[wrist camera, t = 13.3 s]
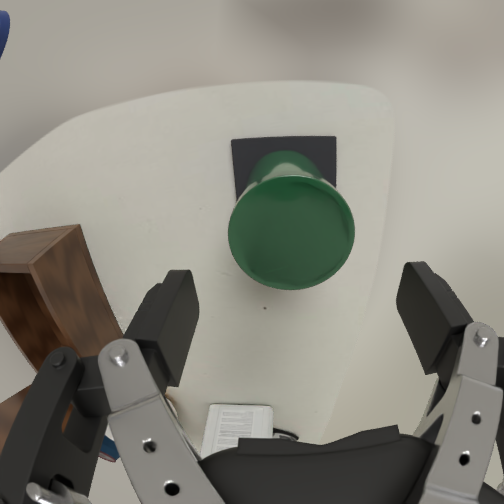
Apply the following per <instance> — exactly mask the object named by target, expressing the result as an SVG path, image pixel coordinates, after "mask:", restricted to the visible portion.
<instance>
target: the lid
mask: <svg viewBox="0 0 504 504" xmlns="http://www.w3.org/2000/svg"><path fill="white" fill-rule="evenodd" d="M30 386H31V385H29V386H28V387H26V388H24V389H23V390H21V391H19V392H18V393H16V394H15V395H13V396H11V397H10V398H8V399H7V400H5V401H4V402H2V403H0V455H1V452H2V449H3V447H4V444H5V441H6V439H7V436H8V434H9V431H10V429H11V427H12V424H13V422H14V420H15V418H16V415H17V413H18V411H19V409H20V407H21V405H22V402H23V400H24V398H25V396H26V394H27V392H28V390H29V388H30ZM72 409H73V405H72V404H71V403H70V405H69V408H68V410H67V413H66V415H65V418H64V420H63V423H62V433H63V432H64V429H65V427H66V424H67V421H68V419H69V416H70V414H71V411H72Z"/></svg>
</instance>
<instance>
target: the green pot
mask: <svg viewBox="0 0 504 504" xmlns="http://www.w3.org/2000/svg"><path fill="white" fill-rule="evenodd" d="M354 237H355V226H354V219H353V216H352V213H351V210H350V208H349V206H348V204H347V203H346V201H345V200H344V198H343V197H342V195H341V194H340V193H339V192H338V190H337V189H336V188H335V187H334V186H332V185H331V184H330V183H329V182H327V180H326V179H325V177H324V176H323V174H322V173H321V172H320V170H319V169H318V167H317V166H316V165H315V164H314V162H313V161H312V160H310V159H309V158H308V157H306V156H305V155H303V154H301V153H298V152H295V151H288V150H283V151H276V152H272V153H270V154H268V155H266V156H264V157H263V158H261V159H260V160H259V161H258V162H257V163H256V164H255V165H254V167H253V168H252V170H251V172H250V174H249V177H248V180H247V183H246V186H245V189H244V192H243V193H242V195H241V196H240V197H239V199H238V201H237V202H236V204H235V207H234V209H233V212H232V214H231V217H230V221H229V226H228V241H229V246H230V249H231V252H232V255H233V257H234V259H235V261H236V262H237V263H238V265H239V266H240V268H241V269H242V270H243V271H244V272H245V273H246V274H247V275H248V276H250V277H251V278H252V279H254V280H255V281H257V282H259V283H261V284H263V285H266V286H268V287H272V288H276V289H282V290H300V289H305V288H309V287H312V286H315V285H317V284H320V283H322V282H324V281H325V280H327V279H329V278H330V277H331V276H333V275H334V274H335V273H336V272H337V271H338V270H339V269H340V268H341V267H342V266H343V264H344V263H345V261H346V260H347V258H348V256H349V254H350V252H351V250H352V246H353V243H354Z"/></svg>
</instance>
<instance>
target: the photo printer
mask: <svg viewBox="0 0 504 504" xmlns="http://www.w3.org/2000/svg"><path fill="white" fill-rule="evenodd" d="M273 416H274V410H273V409H272V408H271V407H270V406H261V405H227V404H212V405H210V408H209V412H208V417H207V422H206V427H205V431H204V436H203V441H202V446H201V451H200V456H201V457H202V459H203V458H205V457H207V456H209V455H211V454H213V453H216V452H218V451H221V450H224V449H228V448H232V447H238V437H240V438H272V435H273Z"/></svg>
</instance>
